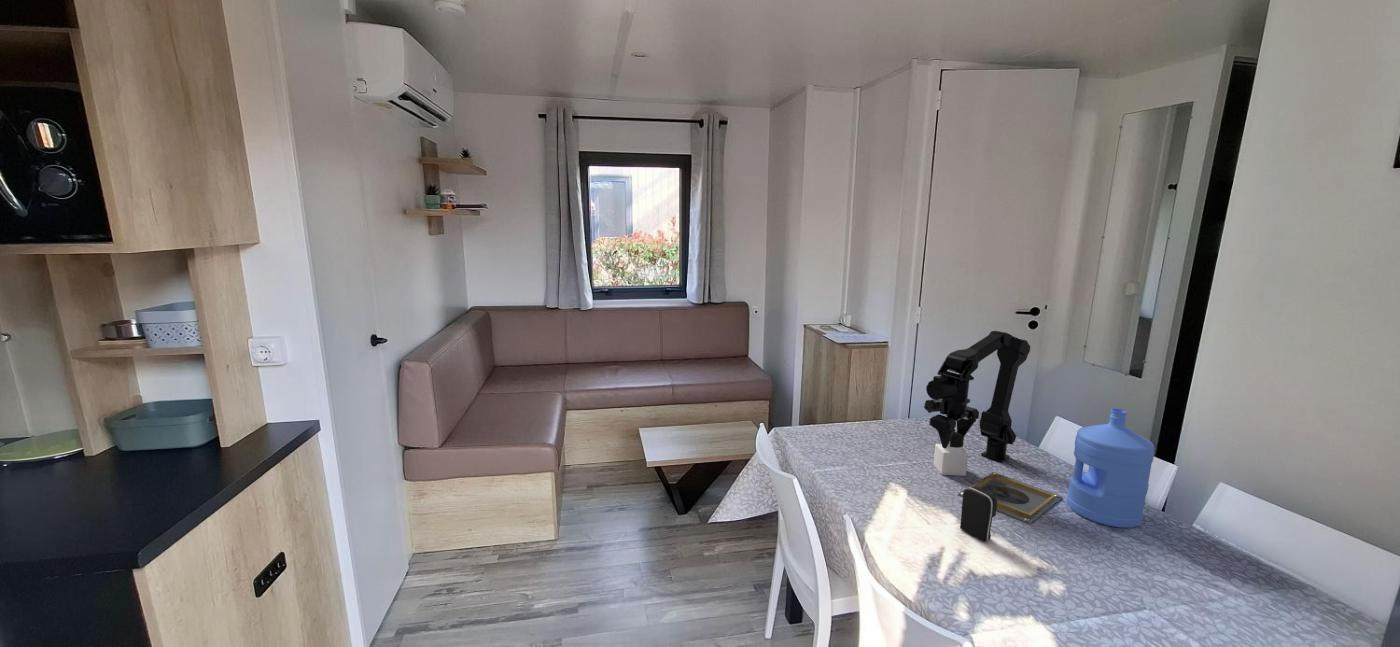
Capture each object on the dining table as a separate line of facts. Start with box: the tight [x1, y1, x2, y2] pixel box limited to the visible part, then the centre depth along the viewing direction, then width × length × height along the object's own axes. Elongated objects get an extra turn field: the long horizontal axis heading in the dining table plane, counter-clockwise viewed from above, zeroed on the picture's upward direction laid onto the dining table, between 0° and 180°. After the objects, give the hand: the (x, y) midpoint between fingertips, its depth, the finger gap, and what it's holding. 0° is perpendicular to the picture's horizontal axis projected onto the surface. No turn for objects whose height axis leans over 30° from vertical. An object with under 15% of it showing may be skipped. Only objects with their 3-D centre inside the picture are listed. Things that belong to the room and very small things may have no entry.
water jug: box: [1066, 408, 1155, 529], centre depth 130 cm, size 16×16×28 cm
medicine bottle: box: [933, 431, 969, 477], centre depth 154 cm, size 7×7×12 cm
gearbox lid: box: [957, 472, 1063, 525], centre depth 140 cm, size 22×18×1 cm
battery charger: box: [959, 486, 997, 543], centre depth 121 cm, size 7×4×11 cm, turn 28°
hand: (951, 444), depth 153 cm, fingers open, 9 cm apart
